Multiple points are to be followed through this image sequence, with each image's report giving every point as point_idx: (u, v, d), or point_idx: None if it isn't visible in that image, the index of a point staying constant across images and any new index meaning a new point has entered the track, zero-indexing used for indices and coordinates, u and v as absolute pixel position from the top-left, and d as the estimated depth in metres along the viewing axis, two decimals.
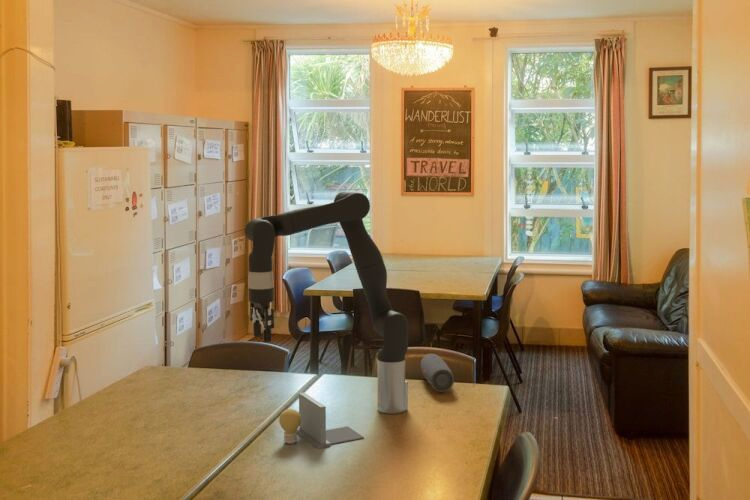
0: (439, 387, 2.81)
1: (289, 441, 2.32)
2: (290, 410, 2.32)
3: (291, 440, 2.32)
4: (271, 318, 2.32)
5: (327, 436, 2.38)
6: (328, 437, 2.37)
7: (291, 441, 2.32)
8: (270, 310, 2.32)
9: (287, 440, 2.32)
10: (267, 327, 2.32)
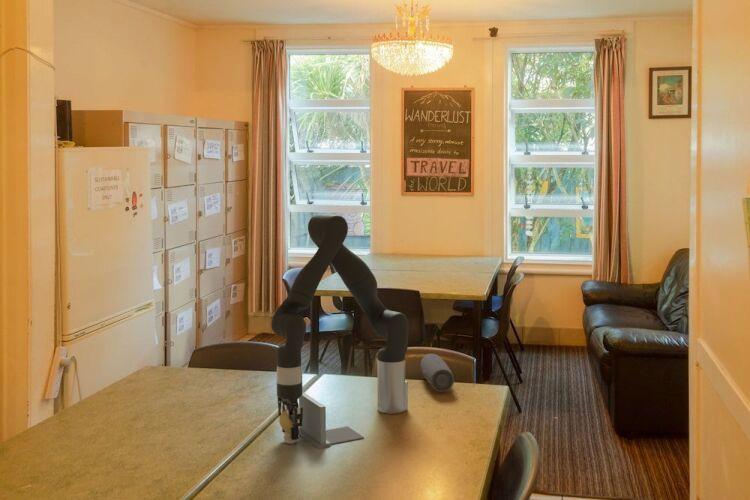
0: (439, 387, 2.81)
1: (289, 441, 2.32)
2: None
3: (291, 440, 2.32)
4: (300, 417, 2.27)
5: (327, 436, 2.38)
6: (328, 437, 2.37)
7: (291, 441, 2.32)
8: (299, 409, 2.27)
9: (287, 440, 2.32)
10: (295, 425, 2.27)
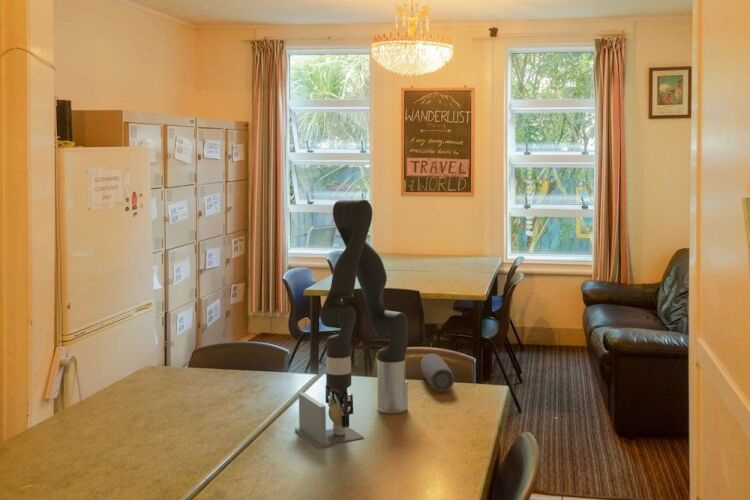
0: (439, 387, 2.81)
1: (338, 433, 2.38)
2: None
3: (340, 432, 2.38)
4: (350, 404, 2.32)
5: (327, 436, 2.38)
6: (328, 437, 2.37)
7: (340, 433, 2.38)
8: (349, 396, 2.32)
9: (336, 432, 2.38)
10: (346, 413, 2.32)
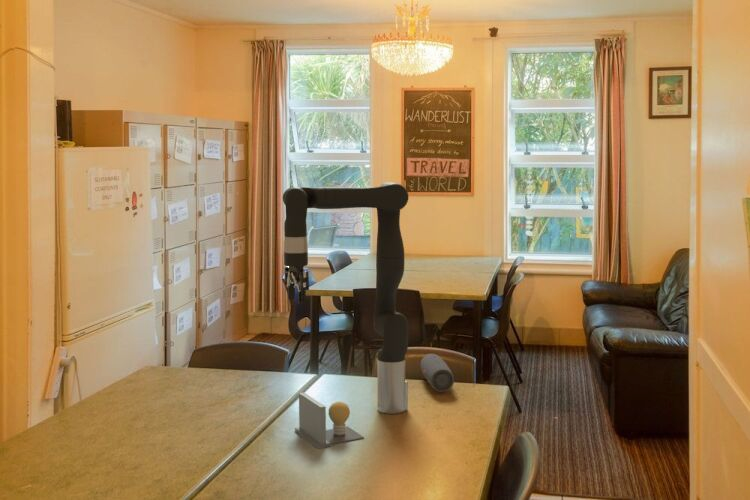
0: (439, 387, 2.81)
1: (338, 433, 2.38)
2: (339, 403, 2.38)
3: (340, 432, 2.38)
4: (306, 280, 2.46)
5: (327, 436, 2.38)
6: (328, 437, 2.37)
7: (340, 433, 2.38)
8: (305, 273, 2.45)
9: (336, 432, 2.38)
10: (302, 289, 2.45)
